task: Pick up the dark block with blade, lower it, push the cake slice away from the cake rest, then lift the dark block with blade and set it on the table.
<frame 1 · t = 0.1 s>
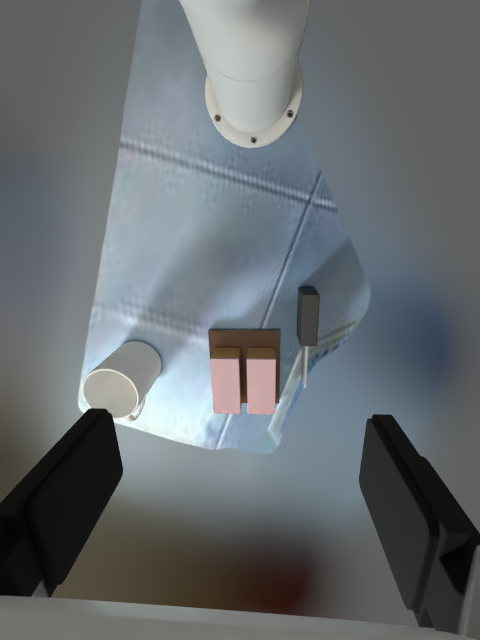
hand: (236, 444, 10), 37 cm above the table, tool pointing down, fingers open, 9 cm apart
cake rest: (228, 373, 50), point 1 cm above the table, touching cake board
cake slice: (261, 373, 49), point 1 cm above the table, touching cake board
mug: (142, 369, 52), on the table
dark block with blade: (304, 311, 46), on the table
cake board: (245, 365, 50), on the table
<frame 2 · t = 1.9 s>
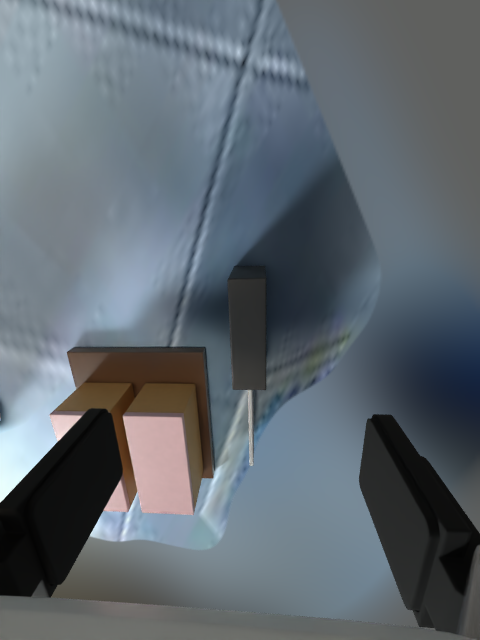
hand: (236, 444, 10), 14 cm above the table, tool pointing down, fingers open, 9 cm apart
cake rest: (117, 428, 27), point 1 cm above the table, touching cake board
cake slice: (176, 429, 27), point 1 cm above the table, touching cake board
dark block with blade: (250, 314, 23), on the table
cake board: (149, 413, 27), on the table
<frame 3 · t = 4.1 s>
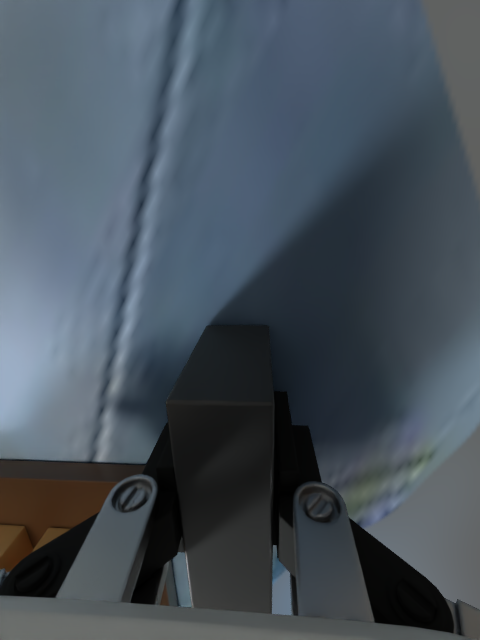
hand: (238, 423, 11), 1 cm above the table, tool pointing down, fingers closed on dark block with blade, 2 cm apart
cake rest: (10, 588, 16), point 1 cm above the table, touching cake board
cake slice: (110, 596, 15), point 1 cm above the table, touching cake board
dark block with blade: (240, 413, 12), on the table, touching gripper
cake board: (68, 559, 16), on the table
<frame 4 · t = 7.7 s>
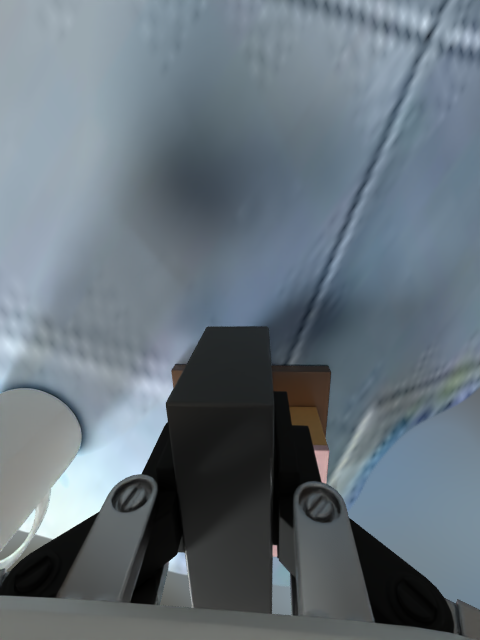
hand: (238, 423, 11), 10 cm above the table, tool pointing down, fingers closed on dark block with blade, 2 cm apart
cake slice: (285, 457, 24), point 1 cm above the table, touching cake board
mug: (47, 439, 26), on the table
dark block with blade: (240, 414, 12), point 10 cm above the table, touching gripper
cake board: (251, 437, 24), on the table
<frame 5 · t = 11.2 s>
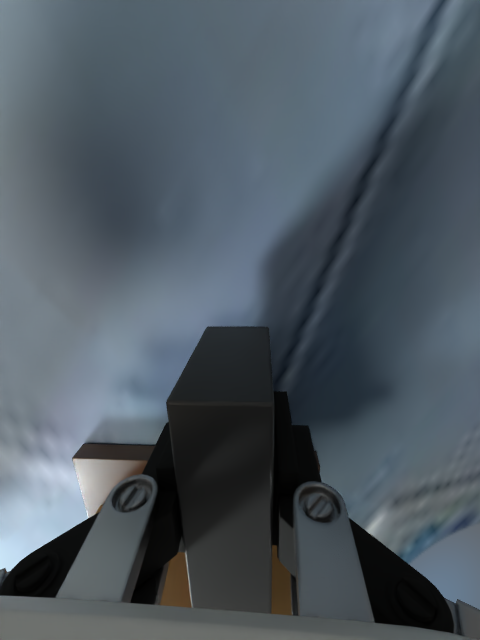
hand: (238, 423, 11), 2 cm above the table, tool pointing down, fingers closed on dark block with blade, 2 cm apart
cake rest: (154, 571, 16), point 1 cm above the table, touching cake board
cake slice: (288, 581, 16), point 1 cm above the table, touching cake board, dark block with blade
dark block with blade: (240, 414, 12), point 1 cm above the table, touching cake slice, gripper
cake board: (205, 543, 17), on the table
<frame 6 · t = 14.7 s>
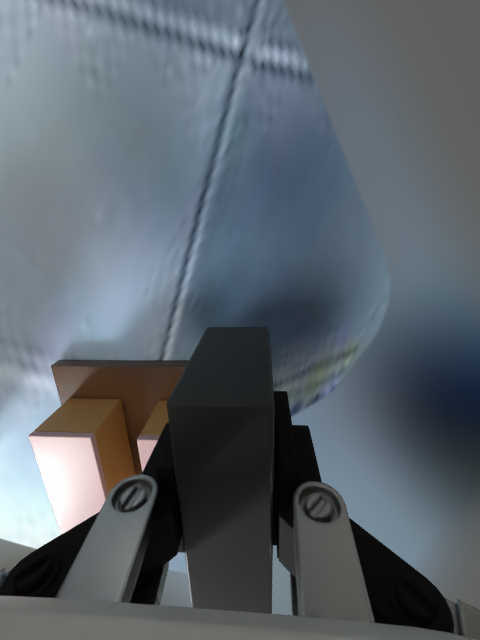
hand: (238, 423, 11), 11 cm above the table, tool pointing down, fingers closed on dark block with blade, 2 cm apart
cake rest: (106, 446, 25), point 1 cm above the table, touching cake board
cake slice: (190, 449, 25), point 1 cm above the table, touching cake board
dark block with blade: (240, 414, 12), point 10 cm above the table, touching gripper
cake board: (140, 430, 26), on the table
when the fingers open (1 cm above the table, at t = 17.2 s): dark block with blade stays where it is, on the table.
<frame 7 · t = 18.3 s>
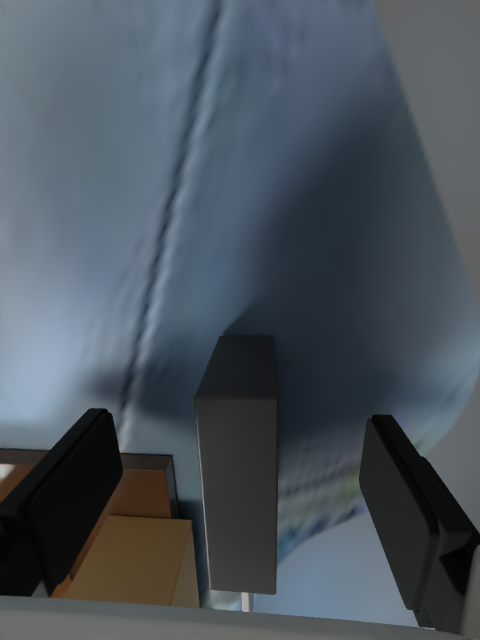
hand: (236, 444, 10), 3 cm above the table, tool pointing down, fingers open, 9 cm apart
cake slice: (159, 582, 16), point 1 cm above the table, touching cake board
dark block with blade: (247, 412, 14), on the table
cake board: (86, 545, 17), on the table
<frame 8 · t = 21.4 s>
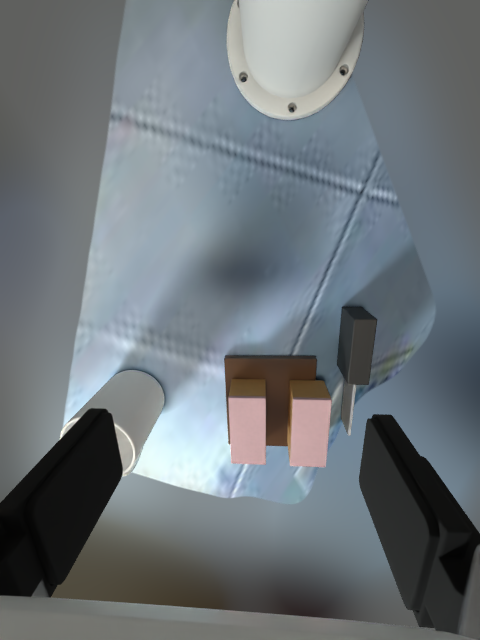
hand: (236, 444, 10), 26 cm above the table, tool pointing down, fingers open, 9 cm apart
cake rest: (249, 410, 40), point 1 cm above the table, touching cake board
cake slice: (304, 412, 39), point 1 cm above the table, touching cake board
mug: (140, 403, 42), on the table
dark block with blade: (348, 336, 36), on the table
cake board: (269, 400, 40), on the table
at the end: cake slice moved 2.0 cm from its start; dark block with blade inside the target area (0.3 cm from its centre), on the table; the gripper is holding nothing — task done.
